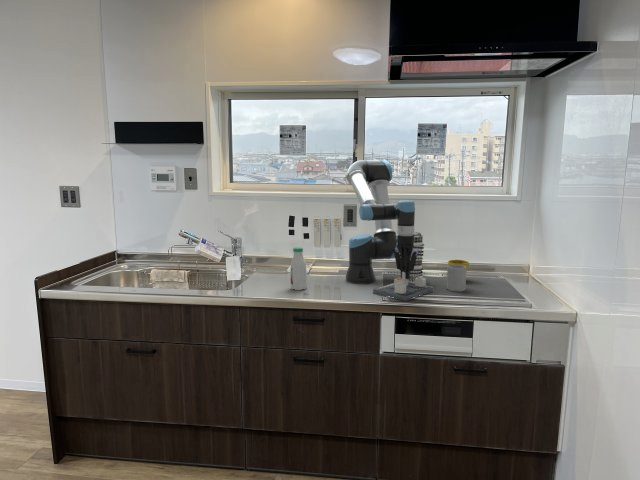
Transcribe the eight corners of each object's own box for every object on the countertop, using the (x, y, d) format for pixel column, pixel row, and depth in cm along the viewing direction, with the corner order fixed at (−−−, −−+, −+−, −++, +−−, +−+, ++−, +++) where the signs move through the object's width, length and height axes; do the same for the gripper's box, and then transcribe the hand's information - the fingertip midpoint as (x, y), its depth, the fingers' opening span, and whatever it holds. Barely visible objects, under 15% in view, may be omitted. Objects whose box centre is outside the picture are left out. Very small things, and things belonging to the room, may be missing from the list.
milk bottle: (309, 287, 217) (308, 247, 214) (302, 291, 210) (301, 249, 207) (295, 286, 220) (294, 246, 217) (288, 289, 213) (287, 248, 211)
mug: (466, 291, 205) (467, 268, 204) (447, 291, 207) (448, 268, 205) (463, 285, 217) (464, 263, 215) (445, 284, 219) (446, 262, 217)
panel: (373, 293, 205) (373, 288, 204) (400, 284, 220) (401, 280, 219) (405, 301, 192) (405, 295, 192) (433, 291, 207) (433, 286, 207)
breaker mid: (394, 286, 207) (394, 277, 207) (398, 285, 209) (398, 276, 209) (401, 288, 204) (401, 279, 204) (405, 286, 207) (405, 277, 206)
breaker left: (394, 292, 198) (394, 282, 197) (398, 291, 200) (398, 281, 199) (402, 293, 195) (402, 284, 194) (406, 292, 197) (406, 283, 196)
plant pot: (466, 283, 220) (466, 264, 219) (445, 281, 225) (445, 262, 224) (470, 279, 229) (471, 260, 228) (450, 277, 234) (450, 258, 233)
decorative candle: (423, 283, 221) (424, 234, 217) (404, 283, 222) (405, 233, 219) (423, 279, 230) (424, 231, 226) (404, 279, 231) (405, 231, 228)
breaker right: (414, 285, 209) (415, 276, 208) (418, 284, 211) (418, 275, 210) (422, 287, 206) (422, 278, 205) (425, 285, 208) (426, 276, 207)
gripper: (389, 234, 203) (388, 284, 207) (413, 237, 194) (412, 289, 198) (398, 232, 208) (397, 281, 212) (422, 235, 199) (421, 286, 203)
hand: (404, 285), depth 205 cm, fingers closed
